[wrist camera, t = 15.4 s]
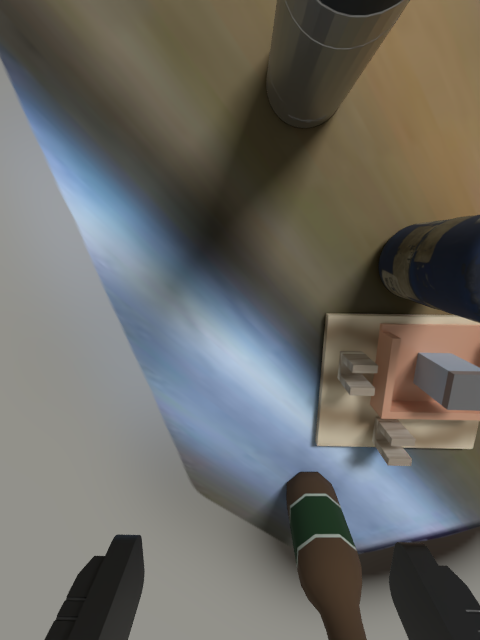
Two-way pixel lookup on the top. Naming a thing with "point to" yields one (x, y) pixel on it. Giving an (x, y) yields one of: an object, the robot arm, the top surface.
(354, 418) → the board
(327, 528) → the beer bottle
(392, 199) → the top surface
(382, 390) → the tray
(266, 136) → the top surface
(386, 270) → the canister
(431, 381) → the grey block
